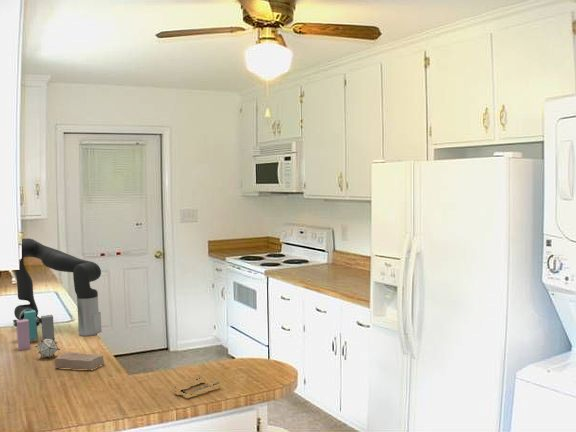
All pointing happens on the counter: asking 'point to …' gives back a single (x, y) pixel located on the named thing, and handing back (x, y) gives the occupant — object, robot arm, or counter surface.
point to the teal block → (31, 323)
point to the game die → (47, 347)
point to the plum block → (23, 334)
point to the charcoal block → (47, 327)
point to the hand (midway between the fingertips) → (31, 324)
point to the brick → (78, 361)
